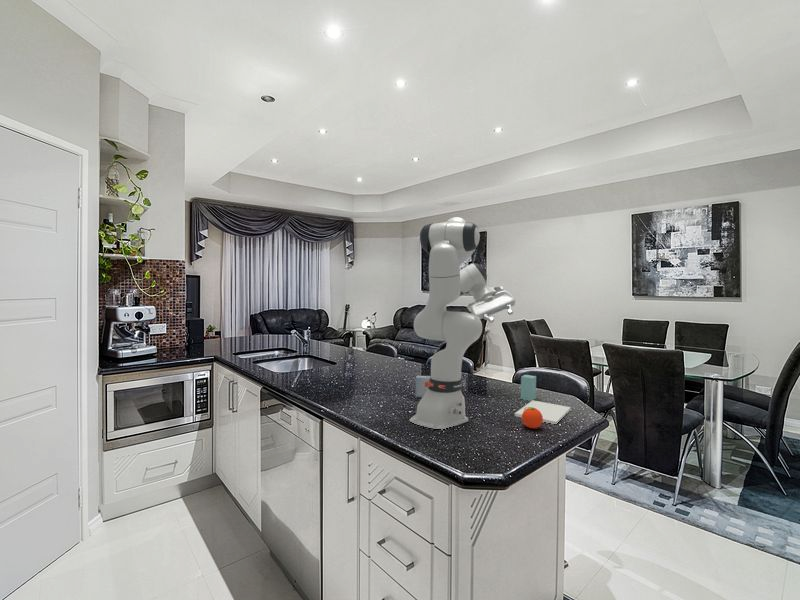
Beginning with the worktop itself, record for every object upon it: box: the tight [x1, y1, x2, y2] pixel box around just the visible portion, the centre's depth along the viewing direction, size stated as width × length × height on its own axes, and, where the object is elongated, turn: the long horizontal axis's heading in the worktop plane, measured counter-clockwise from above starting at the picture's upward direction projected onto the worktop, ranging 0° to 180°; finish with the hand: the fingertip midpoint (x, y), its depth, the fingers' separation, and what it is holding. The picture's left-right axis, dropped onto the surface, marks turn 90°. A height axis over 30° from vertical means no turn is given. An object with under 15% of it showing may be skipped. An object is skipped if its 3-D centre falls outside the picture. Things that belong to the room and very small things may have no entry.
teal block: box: [520, 374, 537, 402], centre depth 172 cm, size 5×5×10 cm
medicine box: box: [414, 375, 431, 398], centre depth 172 cm, size 8×4×9 cm, turn 84°
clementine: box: [521, 407, 544, 429], centre depth 136 cm, size 8×7×7 cm
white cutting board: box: [514, 400, 571, 425], centre depth 152 cm, size 22×15×1 cm
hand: (502, 317), depth 170 cm, fingers open, 8 cm apart
